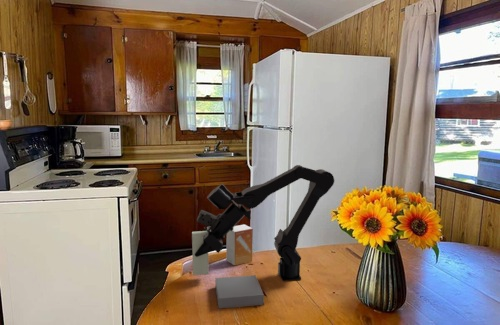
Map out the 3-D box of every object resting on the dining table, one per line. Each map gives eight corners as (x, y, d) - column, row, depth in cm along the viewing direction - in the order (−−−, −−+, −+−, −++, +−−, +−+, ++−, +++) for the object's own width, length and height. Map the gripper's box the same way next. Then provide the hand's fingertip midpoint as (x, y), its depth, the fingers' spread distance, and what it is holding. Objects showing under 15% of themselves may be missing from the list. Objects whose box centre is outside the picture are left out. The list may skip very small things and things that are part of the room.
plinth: (255, 284, 114) (255, 275, 113) (263, 304, 101) (263, 294, 100) (215, 287, 111) (215, 278, 111) (218, 308, 99) (218, 298, 98)
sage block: (207, 268, 118) (207, 230, 117) (208, 274, 114) (207, 235, 112) (192, 269, 118) (192, 231, 116) (193, 275, 113) (192, 236, 111)
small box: (234, 266, 127) (234, 231, 126) (226, 260, 133) (225, 227, 131) (253, 261, 132) (253, 228, 130) (244, 256, 137) (244, 223, 136)
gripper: (211, 196, 122) (180, 227, 123) (211, 209, 104) (174, 246, 104) (234, 217, 124) (203, 248, 124) (237, 234, 106) (201, 270, 106)
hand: (195, 252), depth 115 cm, fingers closed on sage block, 5 cm apart
